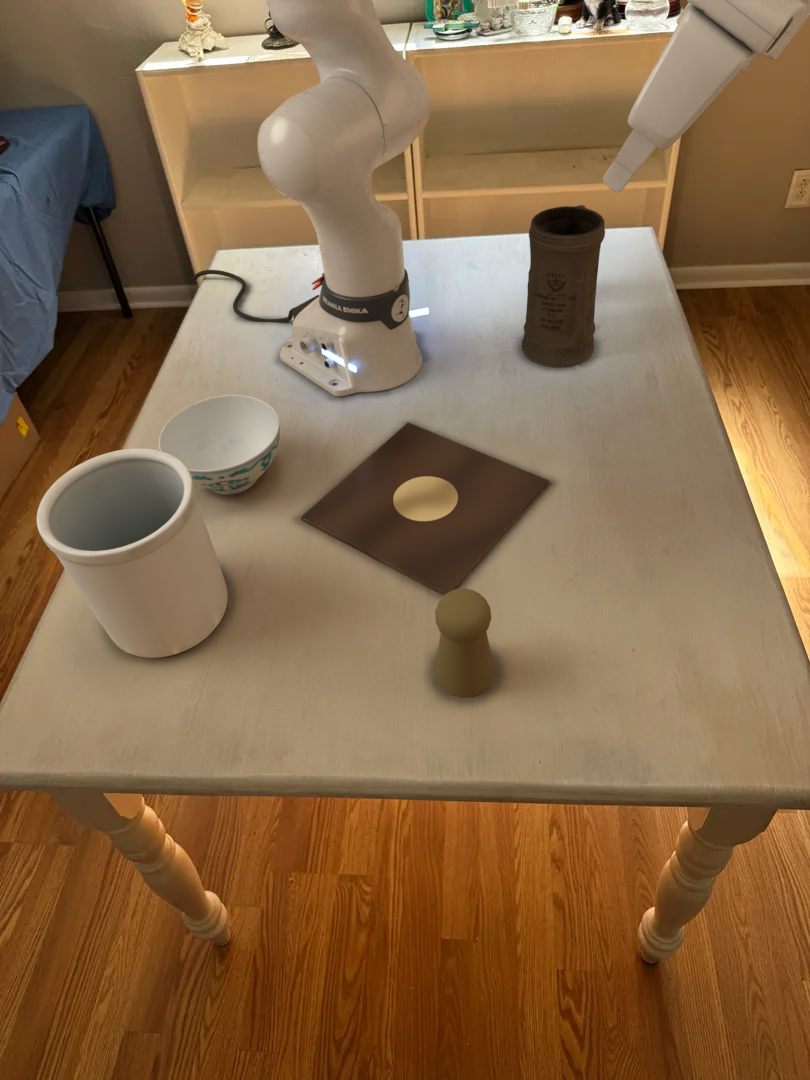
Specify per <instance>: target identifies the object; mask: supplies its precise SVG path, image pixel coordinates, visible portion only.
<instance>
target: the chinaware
mask: <svg viewBox="0 0 810 1080" xmlns="http://www.w3.org/2000/svg"><path fill="white" fill-rule="evenodd" d="M280 425H281V423H280V418H279V415H278V413H277V411H276V410H275V408H273V407H272V405H270V403H268V402H266V401H264V400H262V399H259V398H257V397H254V396H250V395H243V394H225V395H217V396H211V397H209V398H205V399H201V400H198V401H196V402H194V403H192V404H190V405H187V406H186V407H183V408H182V409H181V410H179V411H178V412H177V413H175V414H174V415H172V417H170V418H169V420H168V421H167V422H166V423H165V424H164V426H163V428H161V431H160V434H159V437H158V448H159V451H162V452H165V453H168V454H170V455H172V456H174V457H176V458H177V459H179V460H180V461H181V462H182V463H183V464H184V465H185V466H186V467H187V469H188V470H189V472H190V474H191V476H192V479H193V482H194V486H195V487H197V488H200V489H203V490H205V491H206V490H207V491H211V492H215V493H217V494H221V495H234V494H239V493H241V492H244V491H246V490H248V489H250V488H251V487H252V486H253V485H254V484H255V483H256V482H257V480H258V479H259V478H260V477H261V476H262V475H263V474H264V473H265V472H266V471H267V470H268V468H269V467H270V465H271V464H272V462H273V461H274V458H275V456H276V453H277V451H278V447H279V443H280V442H279V441H280V433H281V426H280Z"/></svg>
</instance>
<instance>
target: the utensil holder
mask: <svg viewBox="0 0 810 1080" xmlns="http://www.w3.org/2000/svg"><path fill="white" fill-rule="evenodd" d="M36 527H37V531H38V532H39V535H40V537H41V540H42V541H43V542H44V544H45V545H46V546H47V547H48V548H49V550H50V551H52V552H53V553H54V554H55V556H56V557H57V559H58V560H59V562H60V564H61V565H62V567H63V568H64V569H65V571H66V573H67V575H68V576H69V577H70V579H71V580H72V582H73V583H74V585H75V586H76V588H77V590H78V592H79V593H80V594H81V596H82V597H83V599H84V600H85V602H86V604H87V606H88V607H89V609H90V610H91V612H92V613H93V615H94V616H95V618H96V619H97V621H98V622H99V624H100V625H101V626H102V627H103V629H104V630H105V631H104V632H106V634H107V635H108V637H109V638H110V639H111V640H112V642H113V643H114V644H115V645H116V646H117V647H118V648H119V649H120V650H122V651H123V652H125V653H127V654H129V655H132V656H134V657H135V656H136V657H138V658H139V657H140V658H148V659H158V658H159V659H160V658H166V657H170V656H175V655H178V654H180V653H183V652H185V651H187V650H190V649H192V648H193V647H196V646H197V645H198V644H200V643H201V642H203V641H204V640H205V639H207V638H208V637H209V636H210V635H211V634H212V633H213V631H214V630H215V629H216V628H217V627H218V625H219V624H220V623H221V621H222V620H223V617H224V615H225V613H226V610H227V606H228V600H229V594H228V592H229V591H228V587H227V584H226V580H225V577H224V574H223V570H222V568H221V564H220V561H219V559H218V556H217V553H216V550H215V548H214V545H213V542H212V540H211V536H210V534H209V531H208V527H207V525H206V522H205V519H204V517H203V514H202V511H201V508H200V505H199V502H198V499H197V496H196V486H195V485H194V482H193V479H192V476H191V474H190V472H189V470H188V469H187V467H186V466H185V465H184V464H183V463H182V462H181V461H180V460H179V459H177V458H176V457H174V456H172V455H170V454H168V453H165V452H162V451H160V450H157V449H153V448H143V447H141V448H139V447H138V448H135V447H134V448H126V449H120V450H119V449H118V450H114V451H110V452H106V453H103V454H100V455H97V456H94V457H92V458H89V459H87V460H85V461H83V462H81V463H79V464H77V465H75V466H74V467H73V468H71V469H69V470H68V471H67V472H65V473H64V474H62V475H61V476H60V477H59V478H58V479H56V480H55V482H54V483H53V484H52V485H51V486H50V487H49V489H47V490H46V492H45V494H44V495H43V497H42V499H41V501H40V503H39V505H38V508H37V513H36Z"/></svg>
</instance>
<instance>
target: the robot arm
mask: <svg viewBox="0 0 810 1080" xmlns="http://www.w3.org/2000/svg"><path fill="white" fill-rule="evenodd" d="M686 2H688V3H687V4H686V5H685V7H684V8H683V11H682V12H681V13H680V14H679V16H678V18H677V19H676V24H677V25H676V27H675V29H674V31H673V33H672V34H671V37H670V38H669V40H668V41H667V42H666V44H665V47H664V48H663V51H662V52H661V54H660V56H659V58H658V59H657V61H656V63H655V65H654V67H653V68H652V70H651V71H650V74H649V75H648V77H647V79H646V81H645V83H644V84H643V86H642V88H641V90H640V92H639V94H638V96H637V97H636V99H635V102H634V104H633V105H632V108H631V110H630V112H629V114H628V117H627V123H628V126H629V127H630V128H632V131H631V132H630V133H629V135H628V136H627V138H626V139H625V141H624V143H623V145H622V146H621V148H620V150H619V151H618V154H617V156H616V157H615V159H614V160H613V161H612V163H611V165H610V166H609V167H608V169H607V170H606V172H605V174H604V175H603V177H602V181H603V185H605V186H606V187H607V188H608V189H610V190H611V191H613V192H614V193H621V192H622V191H624V189H625V187H626V186H627V185H628V184H629V182H630V181H631V179H632V178H633V177H634V176H635V174H636V173H637V172H638V170H639V169H640V168H641V167H642V166H643V165H644V163H645V162H646V161H647V160H648V159H649V158H650V156H651V155H652V154H653V152H654V151H655V149H656V148H658V149H660V150H661V151H666V150H668V149H670V147H671V146H673V145H674V144H675V143H676V142H677V141H678V140H679V139H680V138H681V137H682V136H683V135H684V134H685V133H686V132H687V130H689V128H690V127H691V126H692V125H693V124H694V123H695V122H696V121H697V120H698V118H699V117H700V116H701V115H702V114H703V113H704V112H705V111H706V109H707V108H708V107H709V106H710V105H711V104H712V103H713V102H714V100H715V99H716V98H717V97H718V96H719V95H720V94H721V92H722V91H723V90H724V89H725V88H726V87H727V86H728V85H729V83H730V82H731V81H732V80H733V79H735V77H736V76H737V75H738V74H739V73H742V74H743V73H746V71H747V70H748V69H749V68H750V65H751V63H752V62H753V61H754V60H755V59H756V58H757V56H760V57H761V56H762V57H767V58H769V59H770V60H772V61H775V60H777V59H778V57H779V56H780V54H781V53H782V52H783V51H784V49H785V48H786V47H787V45H788V44H789V43H790V42H791V40H792V39H793V38H794V36H795V35H796V34H797V33H798V31H799V30H800V29H801V28H802V26H803V25H804V23H805V22H806V21H807V19H808V18H809V17H810V0H686ZM266 4H267V7H268V12H269V16H270V18H271V21H272V23H273V25H274V26H275V28H276V29H277V31H278V32H279V33H280V34H282V35H283V36H284V37H285V38H287V39H288V40H291V41H293V42H295V43H298V44H300V45H301V46H302V47H303V48H304V50H305V51H306V52H307V54H308V55H309V57H310V59H311V61H312V62H313V64H314V67H315V69H316V72H317V73H318V78H319V83H317V84H316V85H315V84H314V85H313V86H311V87H309V88H307V89H304V90H303V91H301V92H298V93H296V94H294V95H292V96H290V97H288V98H287V99H286V100H285V101H283V102H282V103H281V104H280V105H279V106H277V108H276V109H275V110H273V112H271V114H269V115H268V116H267V117H266V118H265V119H264V120H263V122H262V123H261V125H260V126H259V129H258V132H257V139H256V143H257V146H256V148H257V155H258V159H259V163H260V166H261V167H260V168H261V169H262V171H263V173H264V175H265V177H266V180H268V182H269V183H270V184H271V186H272V187H273V188H274V189H275V190H276V191H277V192H278V193H280V195H282V196H283V197H285V198H286V199H288V200H290V201H292V202H295V203H297V204H298V205H299V206H300V207H302V209H303V210H304V211H305V213H306V214H307V216H308V217H309V219H310V221H311V223H312V225H313V228H314V231H315V234H316V238H317V243H318V248H319V253H320V257H321V264H322V268H323V273H322V274H321V276H320V277H318V278H317V279H315V280H314V281H312V282H311V285H313V286H312V291H315V290H317V289H318V288H320V287H321V288H320V293H319V294H316V295H314V296H313V297H311V298H309V299H308V300H306V301H304V302H302V303H300V304H298V305H297V306H295V307H292V308H291V309H290V310H289V311H288V314H287V316H285V317H281V318H263V317H262V318H261V317H258V316H257V317H256V316H253V315H249V314H246V313H244V312H242V311H241V310H240V309H239V308H238V304H239V302H240V301H241V299H242V297H243V295H244V294H245V291H246V290H247V284H246V280H244V279H243V278H242V277H240V276H238V275H236V274H234V273H232V272H228V271H226V270H225V271H224V270H218V269H206V270H201V271H198V272H197V273H195V274H194V275H193V276H192V278H191V279H192V280H194V281H195V280H197V279H199V278H200V277H202V276H206V275H218V276H224V277H228V278H229V279H233V280H235V281H237V282H239V284H241V288H240V290H239V291H238V293H237V295H236V296H235V298H234V300H233V303H232V309H233V312H234V313H235V314H236V315H237V316H239V317H240V318H243V319H245V320H248V321H250V322H255V323H280V324H281V323H283V324H284V323H288V322H290V321H291V320H292V319H293V322H292V325H291V337H290V338H289V339H287V340H286V342H285V343H284V345H283V346H282V347H281V350H280V351H279V359H280V361H281V362H283V363H284V364H286V365H287V366H289V367H290V368H292V369H293V370H294V371H296V372H298V373H299V374H301V375H302V376H304V377H305V378H307V379H308V380H309V381H311V382H313V383H314V384H316V385H317V386H319V387H320V388H322V389H323V390H325V391H326V392H328V393H329V394H331V395H332V396H335V397H346V396H349V395H353V394H356V393H371V392H372V393H373V392H380V391H381V392H382V391H386V390H391V389H393V388H396V387H399V386H402V385H403V384H405V383H407V382H409V381H411V380H412V379H413V378H414V377H416V375H417V374H418V373H419V372H420V370H421V369H422V366H423V362H424V359H423V355H422V352H421V349H420V347H419V344H418V340H417V335H416V331H415V329H414V324H413V321H412V318H414V317H419V316H425V315H429V314H430V309H429V307H424V308H419V309H413V310H411V309H410V304H411V303H410V302H411V292H410V291H411V290H410V279H409V274H408V270H407V269H406V268H405V257H404V244H403V232H402V231H403V230H402V223H401V219H400V217H399V215H398V214H397V212H395V210H394V209H393V208H391V207H390V206H389V205H388V204H386V203H384V202H382V201H381V200H378V199H376V196H375V192H374V189H373V183H372V180H373V179H372V177H373V174H374V170H375V169H377V168H379V167H380V166H382V165H384V164H386V163H387V162H389V161H391V160H392V159H394V158H396V157H398V156H399V155H402V153H404V152H405V151H406V150H407V149H408V148H409V147H410V146H411V145H412V144H413V143H414V142H415V140H417V138H418V137H419V136H420V135H421V133H423V131H424V130H425V128H426V127H427V124H428V122H429V119H430V116H431V96H430V92H429V88H428V86H427V83H426V81H425V79H424V77H423V75H422V74H421V72H420V71H419V70H418V69H417V68H416V67H415V65H414V64H412V63H411V62H410V61H408V60H407V59H405V58H404V57H403V56H401V55H400V54H399V52H398V51H397V49H395V47H394V45H393V44H392V42H391V40H390V39H389V36H388V35H387V33H386V31H385V29H384V27H383V25H382V23H381V20H380V18H379V16H378V13H377V11H376V8H375V5H374V2H373V0H266Z"/></svg>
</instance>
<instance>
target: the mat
mask: <svg viewBox="0 0 810 1080" xmlns="http://www.w3.org/2000/svg"><path fill="white" fill-rule="evenodd" d="M549 483H550V480H549V479H546V478H543V477H541V476H539V475H536V474H535V473H532V472H531V471H527V470H525V469H522V468H520V467H517V466H515V465H513V464H510V463H508V462H505V461H503V460H501V459H498V458H496V457H493V456H491V455H488V454H486V453H484V452H481V451H478V450H476V449H474V448H473V447H472V448H471V447H469V446H467V445H464V444H462V443H459V442H458V441H454V440H452V439H450V438H448V437H444V436H442V435H440V434H437V433H435V432H433V431H430V430H428V429H426V428H423V427H420V426H419V425H416V424H413V423H411V422H406V423H405V424H404V425H402V427H401V428H400V429H398V431H396V432H395V433H393V435H392V436H391V437H389V438H388V439H387V440H386V441H385V442H384V443H382V445H380V446H379V447H378V448H377V449H376V450H375V451H374V452H373V453H371V454H370V455H369V456H368V457H367V458H366V459H365V460H364V461H362V462H361V463H360V464H359V465H358V466H356V468H354V469H353V470H352V471H351V472H350V473H348V475H347V476H345V477H344V478H343V479H342V480H341V481H340V482H338V484H337V485H335V486H334V487H333V488H332V489H330V490H329V491H328V492H327V493H326V494H325V495H323V497H321V499H319V500H318V501H317V502H316V503H315V504H314V505H312V506H311V507H310V508H309V509H308V510H307V511H306V512H305V513H304V514H302V515H301V516H300V520H301V521H302V522H304V523H306V524H308V525H310V526H312V527H314V528H316V529H318V530H319V531H321V532H323V533H325V534H327V535H329V536H331V537H333V538H334V539H337V540H338V541H340V542H342V543H344V544H346V545H348V546H350V547H352V548H353V549H356V550H357V551H359V552H361V553H363V554H365V555H367V556H369V557H371V558H373V559H375V560H376V561H378V562H380V563H382V564H384V565H386V566H388V567H389V568H391V569H394V570H395V571H397V572H399V573H401V574H403V575H404V576H407V577H409V578H411V579H413V580H414V581H416V582H418V583H420V584H422V585H424V586H426V587H428V588H430V589H431V590H433V591H435V592H437V593H439V594H441V595H443V596H444V595H445V594H447V593H449V592H450V591H453V590H456V589H457V587H458V586H459V585H460V584H461V583H462V582H463V580H465V578H466V577H467V576H468V575H469V574H470V572H471V571H473V569H474V568H475V567H476V566H477V565H478V563H480V562H481V560H482V559H483V558H484V557H485V556H486V555H487V554H488V553H489V552H490V550H491V549H492V548H493V547H494V546H495V544H496V543H497V542H498V541H499V540H500V539H501V537H503V535H505V533H506V532H507V531H508V530H509V529H510V528H511V527H512V525H514V523H515V522H516V521H517V520H518V519H519V517H520V516H521V515H522V514H523V513H524V512H525V510H526V509H528V508H529V506H530V505H531V504H532V503H533V502H534V501H535V500H536V498H538V496H539V495H540V494H541V492H542V491H543V490H544V489H545V488H546V487H547V486H548V485H549Z"/></svg>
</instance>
